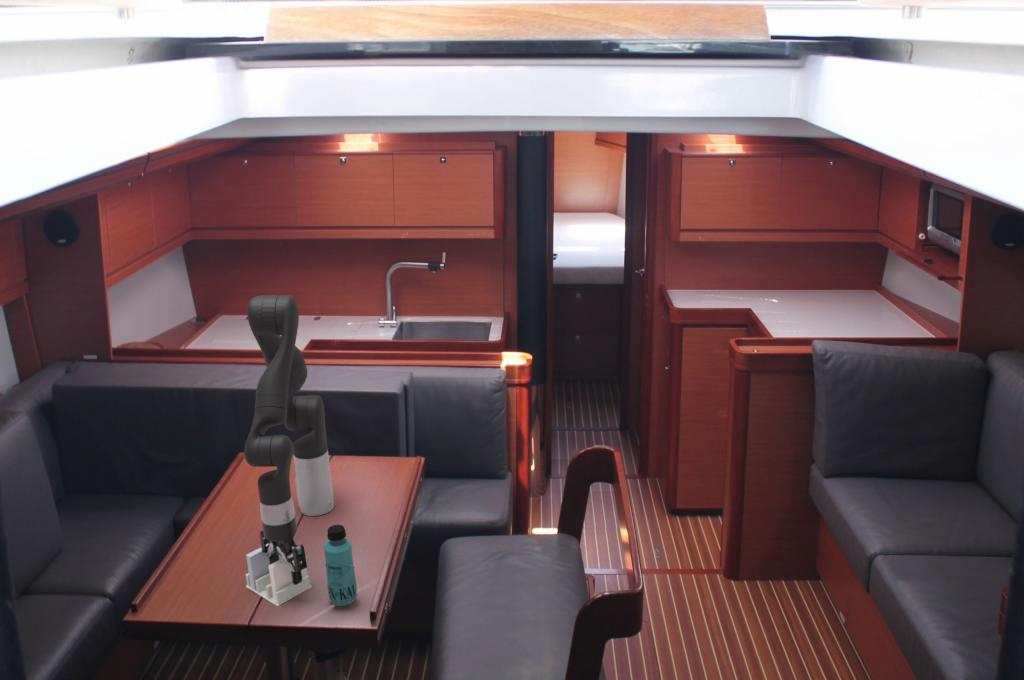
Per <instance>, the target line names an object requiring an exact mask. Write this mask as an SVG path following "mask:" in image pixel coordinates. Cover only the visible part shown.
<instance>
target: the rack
mask: <svg viewBox="0 0 1024 680" xmlns="http://www.w3.org/2000/svg"><path fill="white" fill-rule="evenodd" d="M245 580H246V585H245V587H246V588H247V589H248V590H250V591H251V592H254V593H256V594H257V595H259V596H260V597H261V598H263V599H265V600H267V601H269V602H270V603H271V604H273V605H275V606H276V607H279V606H280V605H282V604H284V603H286V602H288V601H289V600H291V599H293V598H294V597H297V596H299V595H301V594H302V593H304V592H306V591H307V590H309V589H311V588H312V587H313V585H311V580H310V576H309V575H308V574H307V575H306V576H305V577H303V578H302V582H300V583H299V584H297V585H295V584H293V583H292V584H290V585H288V586H286V587H285V588H283V589H281V590H279V591H277V592H276V600H277V601H276V600H274V599H273V593H272V587H271V580H270V573H268V574H266V575H264V576H262V577H261V578H259V579H257V580H255V582H256V590H254V589H252V588H251V584H250V578H249V572H248V573H245Z"/></svg>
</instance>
